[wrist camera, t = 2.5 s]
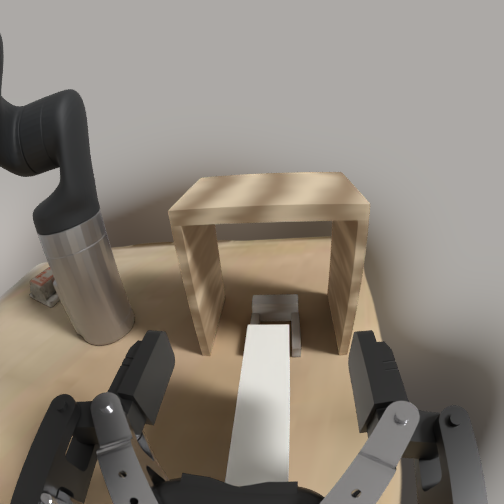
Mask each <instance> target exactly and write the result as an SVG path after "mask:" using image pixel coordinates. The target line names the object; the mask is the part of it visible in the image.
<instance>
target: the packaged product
mask: <svg viewBox="0 0 504 504" xmlns="http://www.w3.org/2000/svg"><path fill="white" fill-rule="evenodd" d="M54 280H55V278H54V276H53V274H52V271H51V269H50V267H48V268H47V269H46V270H44V271H43V272H41V273H40V274H39V275H37V276H36V277H35V278H33V279H32V280H31V281H30V285H31V286H30V289H31V290H30V291H31V293H30V294H29V296H30V297H31V298H33V299H35V300H37V301H39V302H41V303H43V304H44V305H46V306H48V307H50V308H51V307H53V306H54V305H55V304H56V303H57V302H59V301H60V299H59V297H58V294H57V292H56V290H55V288H54V285H53V282H54Z"/></svg>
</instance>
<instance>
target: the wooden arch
mask: <svg viewBox="0 0 504 504" xmlns="http://www.w3.org/2000/svg"><path fill="white" fill-rule="evenodd" d="M168 213H169V219H170V223H171V229H172V234H173V239H174V244H175V248H176V253H177V258H178V262H179V267H180V271H181V275H182V280H183V284H184V288H185V292H186V296H187V300H188V304H189V308H190V312H191V316H192V319H193V323H194V327H195V331H196V334H197V338H198V341H199V345H200V348H201V352H202V355H207V356H210V355H211V351H212V347H213V343H214V339H215V335H216V332H217V328H218V324H219V320H220V316H221V312H222V308H223V304H224V301H225V291H224V285H223V278H222V271H221V265H220V258H219V251H218V244H217V237H216V230H215V224H230V223H255V222H256V223H257V222H289V221H333V222H332V241H331V257H330V271H329V283H328V294H327V296H328V301H329V305H330V310H331V315H332V320H333V325H334V330H335V336H336V341H337V346H338V352H339V355H345V354H347V352H348V348H349V344H350V339H351V334H352V330H353V325H354V320H355V315H356V309H357V304H358V298H359V292H360V286H361V280H362V273H363V267H364V259H365V252H366V243H367V235H368V225H369V214H370V203H369V202H368V201H367V200H366V199H365V197H364V196H363V195H362V194H361V193H360V192H359V191H358V190H357V188H356V187H354V185H353V184H352V183H351V182H350V181H349V180H348V179H347V178H346V177H345V175H344V174H343V173H341V172H300V173H266V174H246V175H230V176H216V177H205V178H204V177H203V178H200V179H199V180H198V181H197V182H196V183H195V184H194V185H193V186H192V187H191V188H190V189H189V190H188V191H187V192H186V193H185V194H184V195H183V196H182V197H181V198H180V199H179V200H178V201H177V202H176V203H175V204H174V205H173V206H172V207H171V208H170V209H169V211H168ZM252 311H253V313H252V316H251V324H250V325H260V321H291V332H292V357H301V338H300V322H299V312H298V294H287V295H253V299H252Z"/></svg>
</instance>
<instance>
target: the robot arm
mask: <svg viewBox="0 0 504 504" xmlns="http://www.w3.org/2000/svg"><path fill="white" fill-rule="evenodd" d="M2 74H3V42H2V37H1V35H0V167H2V168H4V169H6V170H8V171H9V172H11V173H14V174H16V175H19V176H23V177H29V176H35V175H37V174H41V173H44V172H46V171H49V170H52V169H55V168H58V167H60V183H59V185H58V187H57V188H56V190H55V191H54V192H53V193H52V194H51V195H50V196H49V197H48V198H47V199H46V200H44V201H43V202H42V203H40V204H39V205H38V206H37V207H36V208H35V210H34V212H33V221H34V224H35V227H36V230H37V233H38V236H39V239H40V242H41V245H42V248H43V251H44V253H45V256H46V258H47V261H48V264H49V266H50V269H51V271H52V274H53V276H54V278H55V280H54V282H53V285H54V288H55V290H56V292H57V294H58V297H59V299H60V301H61V303H62V305H63V307H64V309H65V311H66V313H67V315H68V317H69V319H70V321H71V323H72V325H73V327H74V329H75V330H76V332H77V334H79V335H82V336H83V338H84V340H85V341H87V342H88V343H90V344H93V345H106V344H110V343H113V342H115V341H117V340H119V339H121V338H122V337H123V336H125V335H126V334H127V333H128V332H129V331H130V329H131V328H132V326H133V324H134V320H135V317H134V313H133V311H132V308H131V305H130V303H129V300H128V297H127V295H126V292H125V289H124V286H123V283H122V280H121V278H120V275H119V272H118V269H117V266H116V263H115V259H114V256H113V253H112V250H111V246H110V244H109V240H108V236H107V233H106V230H105V226H104V222H103V218H102V215H101V211H100V206H99V202H98V198H97V192H96V186H95V179H94V174H93V169H92V163H91V155H90V147H89V137H88V126H87V117H86V112H85V107H84V104H83V100H82V98H81V97H80V95H79V94H78V93H77V92H76V91H74V90H71V89H70V90H69V89H68V90H64V91H61V92H58V93H55V94H52V95H49V96H47V97H44V98H42V99H39V100H37V101H35V102H32V103H30V104H28V105H25V106H21V107H19V106H14V105H12V104H10V103H9V102H7V101H6V100H5V99H4V98H2V96H1V85H2ZM174 365H175V356H174V353H173V350H172V347H171V345H170V342H169V339H168V336H167V334H166V332H164V331H152V330H148V331H147V332H146V334H145V336H144V338H143V340H142V341H137V342H136V343H135V344H134V345H133V346H132V347H131V348H130V349H129V351H128V353H127V355H126V358H125V359H124V360H123V362H122V366H120V368H119V370H118V372H117V374H116V376H115V378H114V380H113V382H112V384H111V386H110V388H109V390H108V392H106V393H102V394H99V395H98V396H96V397H95V398H94V399H93V401H86V402H76V401H75V400H74V399H73V398H72V397H71V396H70V395H67V394H62V395H59V396H57V397H56V398H54V399H53V401H52V402H51V404H50V406H49V408H48V410H47V412H46V414H45V417H44V419H43V421H42V423H41V425H40V427H39V429H38V432H37V434H36V436H35V438H34V441H33V443H32V445H31V448H30V450H29V453H28V455H27V458H26V460H25V463H24V465H23V468H22V470H21V473H20V476H19V479H18V481H17V484H16V487H15V490H14V493H13V496H12V499H11V503H10V504H84V502H85V498H86V495H87V491H88V488H89V484H90V481H91V477H92V474H93V471H94V468H95V464H96V461H97V458H98V462H99V465H100V468H101V471H102V474H103V477H104V480H105V483H106V486H107V488H108V491H109V494H110V496H111V499H112V501H113V504H376V502H377V501H378V500H379V498H380V497H381V495H382V493H383V492H384V490H385V489H386V487H387V486H388V484H389V482H390V481H391V479H392V477H393V476H394V474H395V472H396V466H397V464H398V462H399V460H400V458H413V460H414V468H415V477H416V487H417V499H418V504H488V501H487V494H486V487H485V481H484V475H483V471H482V465H481V460H480V456H479V452H478V447H477V444H476V440H475V436H474V432H473V429H472V425H471V421H470V418H469V415H468V413H467V412H466V410H465V409H463V408H462V407H460V406H456V405H453V406H449V407H447V408H445V409H444V410H443V411H442V412H441V413H436V412H424V411H420V410H418V409H417V408H416V407H415V406H414V405H413V404H412V403H410V402H409V401H408V398H407V395H406V392H405V389H404V386H403V382H402V379H401V376H400V373H399V370H398V367H397V364H396V362H395V358H394V355H393V352H392V350H391V349H390V347H389V346H388V345H387V344H386V343H385V342H376V339H375V336H374V333H373V331H372V330H370V331H358V332H354V335H353V340H352V344H351V349H350V353H349V360H348V365H349V373H350V378H351V383H352V389H353V395H354V401H355V407H356V413H357V419H358V426H359V433H364V432H367V433H368V440H367V442H366V443H365V445H364V446H363V448H362V449H361V451H360V452H359V453H358V455H357V456H356V458H355V459H354V461H353V462H352V463H351V465H350V466H349V467H348V469H347V470H346V472H345V473H344V474H343V476H342V477H341V478H340V479H339V481H338V482H337V483H336V485H335V486H334V487H333V488H332V490H331V491H330V492H329V493H328V494H327V496H326V497H323V496H322V495H320V494H319V493H317V492H315V491H312V490H310V489H307V488H303V487H298V482H264V483H259V484H253V485H246V486H234V485H230V484H227V483H224V482H221V481H219V480H216V479H213V478H210V477H204V476H198V475H191V474H186V473H182V477H181V478H178V479H172V480H169V479H168V477H167V475H166V474H165V472H164V471H163V469H162V468H161V467H160V465H159V463H158V461H157V459H156V457H155V455H154V453H153V451H152V449H151V446H150V444H149V442H148V440H147V437H146V435H145V432H144V431H143V428H144V425H145V424H149V425H154V423H155V420H156V417H157V414H158V411H159V408H160V405H161V403H162V400H163V397H164V394H165V391H166V388H167V385H168V383H169V380H170V377H171V374H172V371H173V369H174ZM72 436H73V438H72V440H71V443H70V445H69V448H68V451H67V453H66V450H67V447H68V444H69V442H70V439H71V437H72ZM65 453H66V456H65Z"/></svg>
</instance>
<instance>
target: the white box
mask: <svg viewBox="0 0 504 504" xmlns="http://www.w3.org/2000/svg"><path fill="white" fill-rule="evenodd" d="M289 430H290V352H289V324H283V325H248V327H247V334H246V341H245V348H244V355H243V362H242V369H241V376H240V383H239V390H238V397H237V404H236V411H235V418H234V424H233V431H232V438H231V445H230V451H229V458H228V465H227V471H226V478H225V483H227V484H230V485H234V486H246V485H253V484H259V483H264V482H288V472H289Z"/></svg>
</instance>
